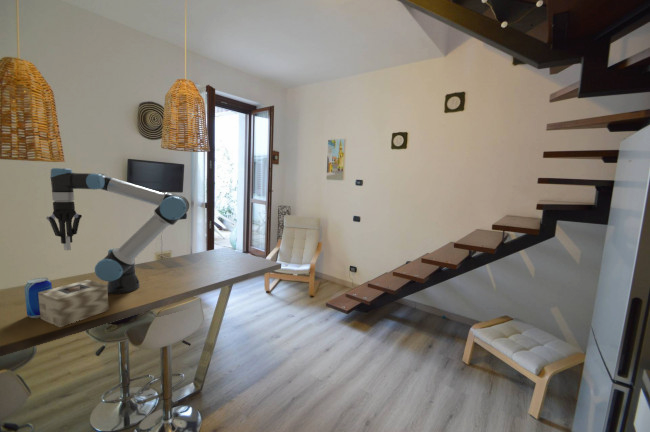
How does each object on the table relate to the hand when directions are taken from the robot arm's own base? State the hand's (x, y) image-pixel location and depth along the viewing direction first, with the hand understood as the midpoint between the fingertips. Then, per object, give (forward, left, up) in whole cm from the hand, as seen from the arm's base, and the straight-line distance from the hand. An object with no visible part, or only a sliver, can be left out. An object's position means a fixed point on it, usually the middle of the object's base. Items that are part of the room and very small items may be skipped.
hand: (67, 249), depth 136 cm
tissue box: (+6, +17, -26) cm, 32 cm away
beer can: (+13, +4, -27) cm, 30 cm away
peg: (+6, +17, -25) cm, 31 cm away
